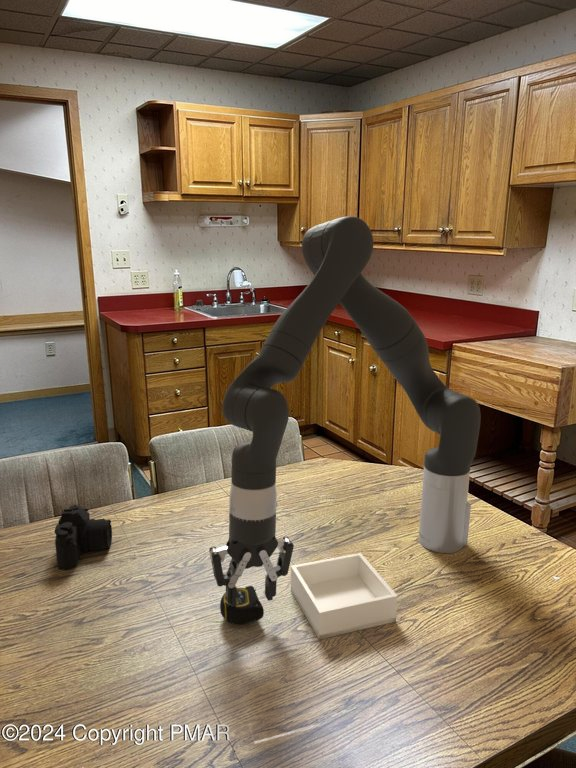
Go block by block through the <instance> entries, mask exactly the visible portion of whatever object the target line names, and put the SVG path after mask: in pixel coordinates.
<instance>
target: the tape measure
mask: <svg viewBox="0 0 576 768" xmlns="http://www.w3.org/2000/svg"><path fill="white" fill-rule="evenodd" d="M256 591H257V589H255V587H254V586H253V585H248V586H245V587H237V598H236V607H231V604H228V602H227V599H226V592H224V593H223V595H222V597H221V598H220V602H219V603H220V604H219V611H220V614H221V617H222V618H223V619H224V620H225V621H226V622H227V623H230V624H232V625H238V626H239V625H240V626H241V625H246V624H249V623H252V622H255V621H259V620H261V619H263V617H264V614H265V613H264V612H265V610H264V606H263V604H262V602H261V601H260V599H259V598H258V597H259V596H258V594H257V592H256Z"/></svg>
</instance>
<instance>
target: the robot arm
mask: <svg viewBox="0 0 576 768" xmlns="http://www.w3.org/2000/svg"><path fill="white" fill-rule="evenodd" d="M301 242H302V243H301V251H302V255H303V259H304V261H305V264H306V265H307V267H308V269H310V271H311V272H312V274H313V275H314V276H313V278H312V280H310V282H309V284H308V285H307V286H305V288H304V289H303V291H302V292H301V293H299V295H298V296H297V297H295V299H294V300H293V301H292V302H291V303H290V304H289V305H288V306H287V308H286V309H285V310H284V311H283V312H282V314H280V316H279V317H278V319H277V320H276V322H275V323H274V324H273V326H272V328H271V329H270V332H269V334H268V335H267V337H266V339H265V341H264V343H263V345H262V346H261V349H260V350H259V352H258V354H257V355H256V356H255V357H254V359H252V360H251V361H250V362H249V363H248V364H247V365H246V367H244V369H243V370H242V371H241V372H240V373H239V374H238V375H237V377H235V379H233V380H232V382H231V383H230V385H229V386H228V388H227V389H226V391H225V393H224V395H223V400H222V407H221V409H222V410H221V411H222V414H223V418H224V419H225V421H226V422H227V423H228V424H230V425H231V426H234V427H237V428H240V429H242V430H243V429H244V430H245V431H249V432H252V439H251V441H244V442H240V443H238V444H237V445H236V446H235V447H234V448H233V450H232V455H231V476H230V477H231V480H230V481H231V482H230V488H229V489H230V490H229V502H228V503H229V505H228V507H229V508H228V509H229V511H228V512H229V514H228V516H229V517H228V518H229V519H228V540H227V542H226V544H225V545H223V546H221V547H218V548H217V547H216V546H210V548H209V557H210V560H211V561H210V562H211V567H212V572H213V577H214V579H215V581H216V582H215V583H216V585H217V586H218V587H221V588H222V587H223V586H224V587H225V593H226V599H227V602H228V604H231V607H236V598H237V588H238V587H237V586H236V585H237V583H238V580H239V578H240V577H242V575H243V572H244V570H246V569H247V570H248V569H251V568H253V567H255V568H259V567H260V568H261V567H263V568H264V569H265V571H266V574H265V575H264V576H265V581H264V595H265V598H266V599H267V601H269V602H271V601H273V600H274V597H276V595H277V580H278V578H280V577H286V576H287V575H288V573H289V571H290V567H291V561H292V556H293V552H294V547H295V545H294V543H293V542H292V540H291V538H289V536H285V535H284V536H283V537H282V538H277V537H276V533H277V532H276V530H277V529H276V528H277V508H278V500H277V497H278V496H277V495H278V493H277V485H276V484H277V482H276V481H277V460H278V459H277V458H278V455H279V451H280V448H281V445H282V441H283V438H284V435H285V433H286V429H287V427H288V422H289V418H290V408H289V403H288V401H287V399H286V397H285V395H284V394H283V393H282V392H281V391H279V390H277V389H274V388H272V387H273V386H275V385H277V384H282V383H283V384H284V383H289V382H290V383H291V382H293V381H294V380H295V379H296V378H297V377H298V375H299V373H300V371H301V370H302V368H303V366H304V364H305V361H306V359H307V358H308V355H309V353H310V352H311V350H312V348H313V345H314V343H315V342H316V340H317V338H318V336H319V334H320V333H321V331H322V330H323V328H324V326H325V324H326V323H327V321H328V319H329V318H330V316H331V315H332V313H334V310H336V308H337V306H338V305H339V304H340V306H341V307H342V308H343V310H345V312H346V313H347V314H348V316H349V317H350V319H351V320H352V321H353V323H354V324H355V325H356V327H357V328H358V329H359V330H360V332H361V334H362V335H363V336H364V337H365V340H366V341H367V342H368V344H369V346H370V347H371V348H372V350H373V351H374V353H376V355H377V356H378V358H379V359H380V360H381V362H382V363H383V364H384V365H385V367H386V368H387V370H388V371H389V373H391V375H392V376H393V377H394V379H395V380H396V382H397V383H398V384H399V385H400V386H401V387H402V389H403V390H404V393H406V395H407V397H408V398H409V400H410V402H411V404H412V406H413V408H414V410H415V411H416V413H417V415H418V417H419V419H420V420H421V422H422V423H423V425H424V426H426V427H427V428H428V429H429V430H430V431H432V432H434V433H436V434H438V435H439V436H440V437H439V442H438V447H433V448H430V449H429V450H427V451H426V452H425V453H424V460H423V473H422V474H423V475H422V486H421V502H420V515H419V529H418V542H419V544H420V545H421V546H422V547H424V548H425V549H427V550H429V551H432V552H435V553H440V554H452V553H453V554H454V553H457V552H459V551H461V550H462V548H464V547H466V546H468V539H469V529H470V520H471V509H472V505H471V503H470V502H469V501H468V497H469V487H470V486H469V484H470V475H471V474H470V473H471V465H472V463H473V461H474V458H475V457H476V453H477V448H478V441H479V435H480V428H481V419H482V417H481V409H480V406H479V403H478V402H477V401H476V400H475V399H474V398H473V397H470V396H468V395H466V394H462V393H460V392H457V391H455V390H453V389H451V388H450V387H448V386H447V385H445V383H444V382H443V381H442V380H441V379H440V378H439V376H438V375H437V373H436V372H435V371H434V369H433V367H432V365H431V362H430V351H429V345H428V341H427V339H426V336H425V335H424V333H423V330H422V329H421V328H420V326H419V325H418V324H417V322H416V320H415V319H414V317H413V316H412V314H411V313H410V312H409V310H408V309H407V308H405V307H404V306H403V304H401V303H399V302H398V301H397V300H395V299H394V298H392V297H391V296H389V295H388V294H386V293H384V291H382V290H380V289H379V288H377V287H376V286H375V285H373V284H372V283H371V282H370V281H368V279H366V278H365V277H364V275H363V274H362V272H363V271H364V269H365V267H366V266H367V265H368V263H369V261H370V260H371V257H372V254H373V251H374V236H373V233H372V230H371V228H370V226H369V225H368V223H366V222H365V220H363V219H362V218H360V217H358V216H354V215H350V216H349V215H347V216H342V217H338V218H335V219H332V220H328V221H326V222H322V223H320V224H317V225H314V226H312V227H311V228H309V229H308V230H307V231H306V232H305V233H304V235H303V238H302V241H301ZM276 549H277V550H278V551H279V553H278V557H277V563H276V565H275V566H273V563H272V561H271V559H270V558H271V556H272V555H273V553H274V552H275V551H276ZM226 555H229V557H231V559H230V562H229V565H228V569H227V570H226V573H224V572H223V567H222V563H224V561H225V558H226Z"/></svg>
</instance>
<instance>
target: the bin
mask: <svg viewBox="0 0 576 768" xmlns="http://www.w3.org/2000/svg"><path fill="white" fill-rule="evenodd" d="M290 592H291V594H292V595H293V597H294V598H295V600H296V602H297V604H298V606H299V607H300V608H301V610H302V612H303V614H304V616H305V618H306V619H307V621H308V623H309V625H310V627H311V628H312V630H313V632H314V633H315V635H316V637H317V638H318V640H323V639H328V638H331V637H335V636H341V635H345V634H350V633H352V632H358V631H361V630H367V629H370V628H375V627H378V626H384V625H388V624H392V623H395V622H397V611H398V594H396V592H395V591H394V590H393V588H392V587H390V585H389V584H388V583H387V582H386V581H385V579H384V578H383V577H382V576H381V574H380V573H378V571H377V570H376V569H375V568H374V566H373V565H372V564H371V563H370V562H369V560H367V558H366V557H365V556H364V555H363V554H362V552H358V553H352V554H347V555H343V556H336V557H331V558H326V559H321V560H316V561H315V560H314V561H310V562H304V563H299V564H294V565H290Z"/></svg>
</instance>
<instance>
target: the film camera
mask: <svg viewBox="0 0 576 768" xmlns="http://www.w3.org/2000/svg"><path fill="white" fill-rule="evenodd" d="M88 511H89V508H83V507H79V505H77V504H73V505H71V506H69V508H64V509H63V511H62V512H61V516H60V518H59V520H58V523H57V524H56V526H55V527H54V534H55V539H54V546H55V552H56V553H55V554H56V562H57V564H56V565H57V569H58V570H61V571H66V570H67V571H68V570H72V569H73V568H75V567H77V566H76V565H77V564H78V563H79V561H80V559H79V556H81V554H85V553H88V551H96V550H97V551H98V550H99V551H100V550H102V551H103V550H105V549H107V548H111V546H112V543H113V542H112V539H113V530H112V528H113V527H112V520H111V519H105V518H98V519H95V518H90V512H88Z"/></svg>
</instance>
